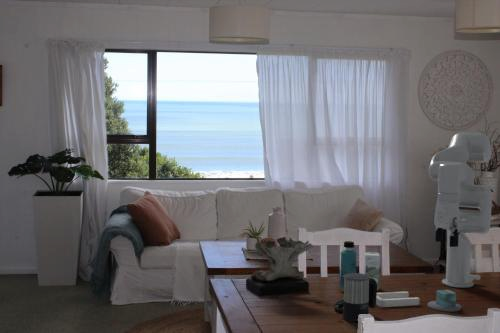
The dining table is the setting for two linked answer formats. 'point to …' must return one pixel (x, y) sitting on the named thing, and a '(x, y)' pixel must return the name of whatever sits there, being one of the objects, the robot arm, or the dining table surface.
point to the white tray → (395, 299)
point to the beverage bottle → (347, 261)
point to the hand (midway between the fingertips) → (446, 243)
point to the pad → (446, 309)
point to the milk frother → (357, 296)
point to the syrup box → (372, 266)
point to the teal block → (445, 298)
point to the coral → (279, 269)
